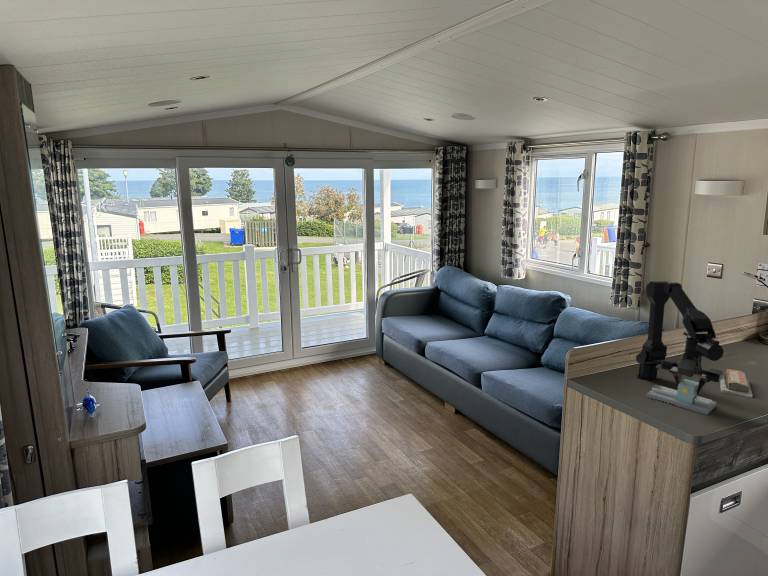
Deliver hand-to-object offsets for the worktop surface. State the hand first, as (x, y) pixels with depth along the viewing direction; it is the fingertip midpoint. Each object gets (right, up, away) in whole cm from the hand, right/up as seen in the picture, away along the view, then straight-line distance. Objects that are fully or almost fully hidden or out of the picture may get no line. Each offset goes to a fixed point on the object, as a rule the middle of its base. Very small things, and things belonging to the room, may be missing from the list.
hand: (688, 392), depth 192 cm
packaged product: (+27, -2, +16) cm, 32 cm away
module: (0, -3, +1) cm, 3 cm away
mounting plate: (-1, -4, +2) cm, 5 cm away
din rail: (-1, -2, +2) cm, 3 cm away
